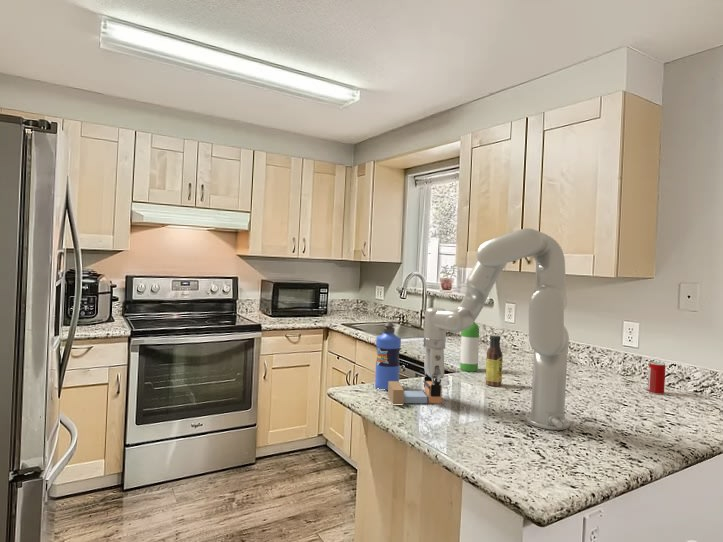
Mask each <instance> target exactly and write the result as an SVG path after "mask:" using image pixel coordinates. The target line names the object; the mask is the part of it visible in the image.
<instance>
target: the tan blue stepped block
mask: <svg viewBox="0 0 723 542" xmlns="http://www.w3.org/2000/svg"><path fill="white" fill-rule="evenodd" d="M388 396H389V397H388ZM387 397H388V399H389V398H390V399H389V401H390V400H391V401H390V403H391V402H392V403H393V404H403V405H405V404H404V403H428V395H427V394H426V393H425V390H405V389H404V388H403V387H402V385H401V383H400V381H399V382H398V381H388V391H387ZM392 403H391V404H392ZM428 404H429V403H428Z"/></svg>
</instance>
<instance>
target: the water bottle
mask: <svg viewBox="0 0 723 542" xmlns="http://www.w3.org/2000/svg"><path fill="white" fill-rule="evenodd" d="M383 325H384V327H383V330H382V331H383V333H382V334H380V335H378V336H376V337H375V338H376V340H375V346H376V355H377V356H376V360H375V361H376V363H375V373H374V375H375V377H374V378H375V379H374V387H376V388H379V389H385V390H388V381H398V382H399V383H400V358H399V357H400V351H401V347H402V345H401V344H402V342H401V341H402V338H401V337H399V336H398V335H396V334H395V328H396V327H395V325H394V324H393V322H391V321H386V322H385V323H384V324H383ZM394 327H395V328H394ZM376 388H375V389H376Z"/></svg>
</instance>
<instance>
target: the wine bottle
mask: <svg viewBox="0 0 723 542" xmlns="http://www.w3.org/2000/svg"><path fill="white" fill-rule="evenodd" d="M460 337H461V338H460V340H461V341H460V363H459V364H460V365H459V368H460V370H462V371H463V372H468V373H470V372H471V373H472V372H473V373H474V372H477V371H478V369H479V351H480V350H479V348H480V347H479V345H480V343H479V342H480V328H479V325H478V323H476V322H475V321H474V323H473V324H472V325H471V326H470V327H469V328H468V329H465V330H463V331H461V336H460Z"/></svg>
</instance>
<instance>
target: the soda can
mask: <svg viewBox="0 0 723 542" xmlns="http://www.w3.org/2000/svg"><path fill="white" fill-rule="evenodd" d="M647 374H648V377H647V392H648V393H649V392H650V393H649V394H652V395H658V396H659V395H660V396H662V395H664V394H665V384H666V365H665V363H664V362H660V361H650V362H649V365H648V373H647Z"/></svg>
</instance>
